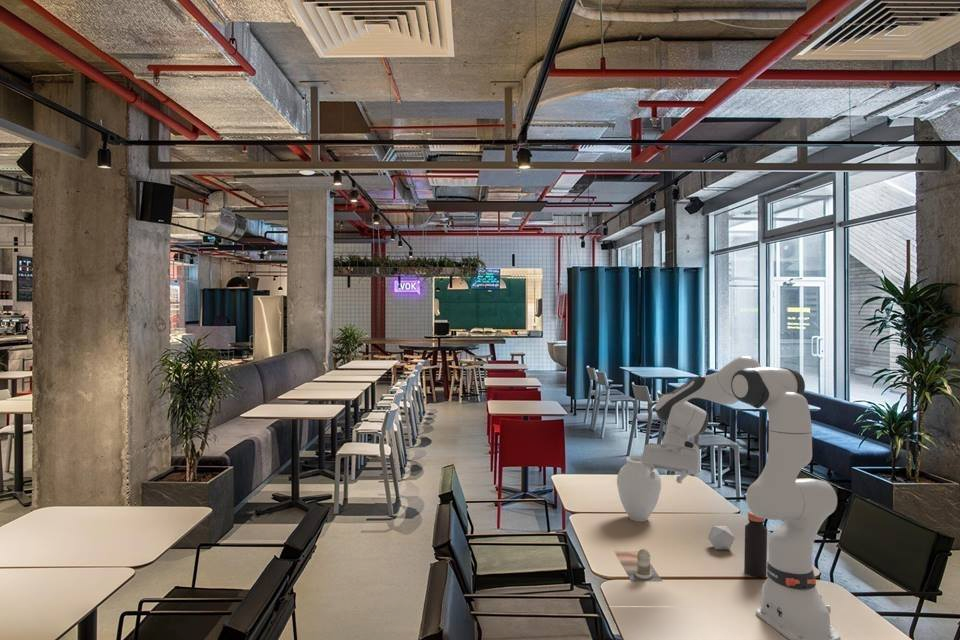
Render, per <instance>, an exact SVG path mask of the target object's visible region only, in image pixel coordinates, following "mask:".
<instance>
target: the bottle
mask: <svg viewBox="0 0 960 640" xmlns="http://www.w3.org/2000/svg"><path fill="white" fill-rule="evenodd" d="M747 520H748V523H746V525H744V559H743V561H744V565H743V567H744V569H743V570H744V573H746V574H747V575H750V576H752V577H755V578H756V577H757V578H758V577H759V578H761V577H765V576H767V562H768V561H767V560H768V557H767V556H768V555H767V554H768V552H767V551H768V528H767V527H766V526H765V525H764V523H765V519H764V518H759V517H756V516H755V515H754V514H753V513H752V512H751V511H750V510H749V511H748V512H747Z"/></svg>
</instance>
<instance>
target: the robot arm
mask: <svg viewBox="0 0 960 640" xmlns="http://www.w3.org/2000/svg"><path fill="white" fill-rule="evenodd" d="M805 383H806V382H805V380H804V378H803V376H802V374H801V373H800V372H799V371H798V370H795V369H793V368H789V367H774V366H773V367H771V366H762V365H761V364H760V363H759V362H758V360H756V359H755V358H754V357H751V356H747V355H746V356H745V355H743V356H740V357H737V358H735V359H733V360H731V361H730V362H728V363H727V364H725V365H724V366H723V367H722V368H720V370H718V371H716V372H714V373H711V374H707V375H698V376H696V377H693V378H692V379H690V380H689V381H687V382H685V383H684V384H682V385H680V386H678V387H677V388H675V389H673V390H672V391H670V392H666V393H664V394H662V396H661V397H659V399H658V400H657V402H656V404H655V406H654V411H655V413H656V416H657V417H658V419H659V420H661V421H664V422H667V425H666V432H665V433H664V435H663V439H662V441H661V443H654V442H649V443H646V444H645V446H644V448H643V452H642V454H641V463H642V464H643V466H645V467H649V469H650V475H649V476H650V478H653V479H655V475H656V474H655V472H653V471H652V470H654V468H655V469H656V470H657V469H658V470H663V471H669V472H676V473H682V474H680V475H678V476H676V483H677V484H682V483H683V480H685V478H687V476H688V475H693V476H694V475H695V476H696V475H698V474H699V473H700V471H701V469H700V468H701V459H700V457H701V451H700V449H699V447H698V444H696V443H695V442H692V441H690V438H691V437H692V438H693V437H697V436H700V435H702V434H704V433H705V432H706V431H707V428H708V426H709V422H710V421H709V420H710V419H709V414H708V413H707V411H706V410H704V409H703V408H700V407H699V406H697V405H695V404H692V403H691V402H689V401H690V400H692V399H702V400H706V401H710V402H713V403H716V404H719V405H724V406H725V405H732V404H736V403H737V402H741V403H744V404H746V405H749V406H751V407H753V408H755V409H760V408H762V407H763V408H764V409H765V410H766V411H767V414H768V453H767V460H766V462H765V465H764V467H763V469H762V472H761V473H760V474H759V476H758V477H757V479H756V480H755V481H754V482H753V483H751V484H750V485H749V486H748V488H747V491H746V495H745V500H746V504H747V507H748V509H749V511H751V512H752V513H753V514H754V515H755V516H756V517H759V518H764V520H771V521H779V520H783V522H782V523H781V525H780V526H778V527H776V529H774V530H773V531H772V532H771V534H770V536H769V539H768V541H769V542H768V544H769V545H768V561H767V572H766V576H767V578H766V580H765V582H764V583H763V585H762V587H761V597H760V607H758V608H756V610H755V615H756V616H757V617H759V618H760V619H761V620H763V621H765V623H767V624H768V625H769V626H771V627H772V628H773V629H774V630H776V631H777V632H779V633H780V634H781V635H782V636H784V637H785V638H787V639H788V640H841V636H840V634H839V632H838V631H837V630H836V629H835V626H833V625H832V622H831V619H830V618H831V617H830V614H831V611H832V610H831V609H832V608H831V605H830V604H825V603H824V601H823V597H822V594H820V593H819V591H818V589H817V587H816V585H817V582H816V581H817V579H816V575H815V572H814V569H813V554H814V553H813V552H814V545H815V539H816V537H817V534H818V532H819V529H820V528H821V526H822V524H823V523H824V521H825V520H826V519H827V518H828V517H829V516H830V515H832V514H833V513H835V511H836V510H837V506H838V495H837V492H836V491H835V489H834V487H833V486H832V485H831V483H829V482H827V481H825V480H823V479H822V480H820V479H816V478H809V477H807V478H806V477H805V478H803V477H802V478H798V475H799V473H800V472H801V470H802V469H804V468H805V467H806V466H807V465H809V464H810V463H811V461H812V459H813V433H812V432H813V430H812V429H813V427H812V419H811V412H810V407H809V404H808V403H809V402H808V400H807V399H806V397H805V396H804V393H805V389H806V384H805Z"/></svg>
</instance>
